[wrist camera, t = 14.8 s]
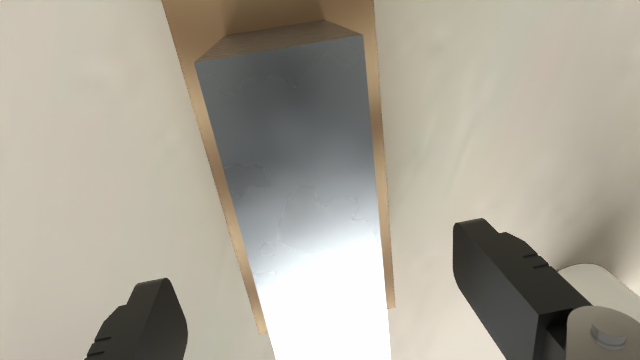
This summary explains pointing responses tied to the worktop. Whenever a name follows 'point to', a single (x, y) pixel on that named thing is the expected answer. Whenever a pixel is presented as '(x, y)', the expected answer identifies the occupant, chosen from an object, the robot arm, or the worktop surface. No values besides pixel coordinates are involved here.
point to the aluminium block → (303, 184)
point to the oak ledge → (256, 14)
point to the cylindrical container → (602, 288)
